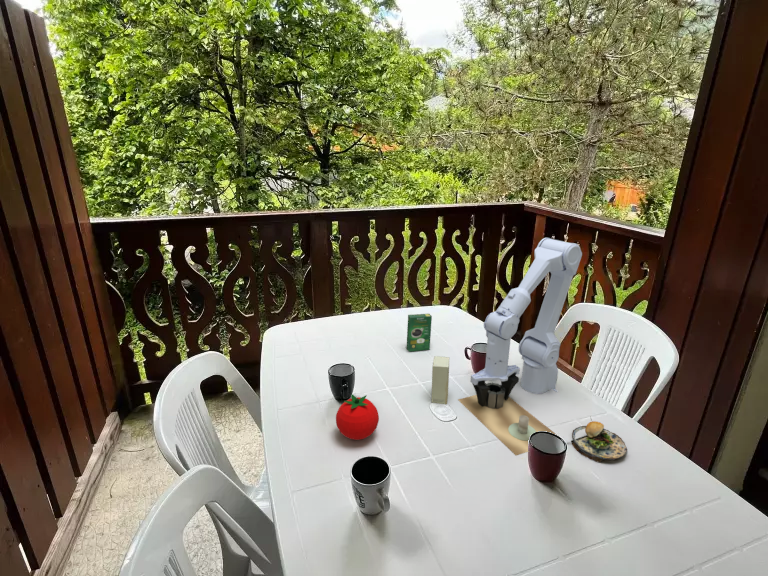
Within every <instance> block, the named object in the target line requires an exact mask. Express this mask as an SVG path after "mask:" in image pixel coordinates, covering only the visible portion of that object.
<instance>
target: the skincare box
mask: <svg viewBox="0 0 768 576" xmlns="http://www.w3.org/2000/svg"><path fill="white" fill-rule="evenodd" d="M432 361H433V362H432V371H431V372H432V373H431V374H432V375H431V403H433V404H441V405H447V404H448V399H449V382H450V381H449V379H450V378H449V377H450V374H449V373H450V357H448V356H439V355H434V356H433V360H432Z"/></svg>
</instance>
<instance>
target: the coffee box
mask: <svg viewBox="0 0 768 576" xmlns="http://www.w3.org/2000/svg"><path fill="white" fill-rule="evenodd" d="M432 317H433V316H432V315H431V314H430V313H420V314H418V313H416V314H407V328H406V329H407V332H406V350H407V352H408V353H409V352H411V353H412V352H418V351H419V352H420V351H428V350H429V351H430V348H431V336H432V335H431V331H432V320H433V319H432Z"/></svg>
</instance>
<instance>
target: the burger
mask: <svg viewBox="0 0 768 576" xmlns="http://www.w3.org/2000/svg"><path fill="white" fill-rule="evenodd" d="M582 430H584V431H585V434H586V435H584V436H581V437H578V438H576V434H577V433H578V432H579V431H582ZM571 436H572V440H570V442H571V445H572V447H573V448H574V449H575V451H577V452H578V453H579V454H580V455H581V456H583V457H585V458H588V459H589V460H591V461H594V462H597V463H599V464H600V463H601V462H602V461H603V460H610V461H614V460H617V459H620V458H622V457H624V456H625V455H626V453H627V452H628V448H627V446H626V442H625V441H624V440H623V438H622V437H620V436H619V435H618V434H617V433H615V432H612V431H610V430H608V429H605V425H604V424H603V423H601V422H599V421H596V420H595V421H592V417H591V416H590V422H588V423H587V424H586V425H581V426H578V427H575V428H574V429H572V433H571Z"/></svg>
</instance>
